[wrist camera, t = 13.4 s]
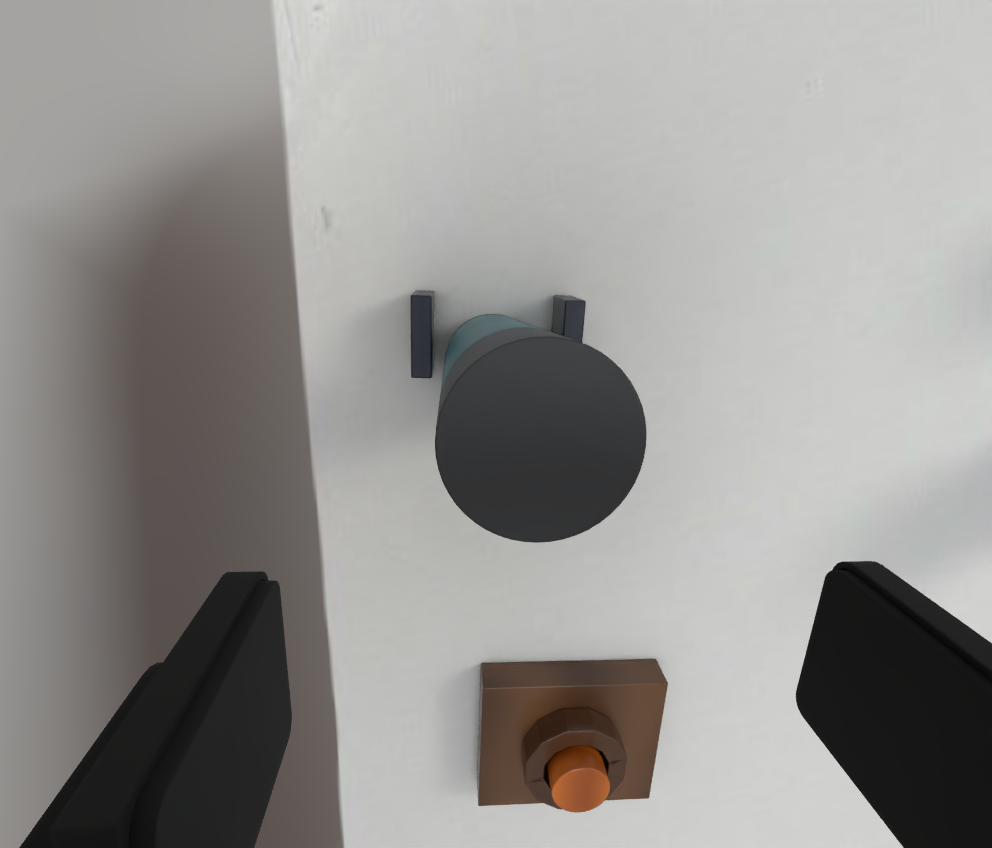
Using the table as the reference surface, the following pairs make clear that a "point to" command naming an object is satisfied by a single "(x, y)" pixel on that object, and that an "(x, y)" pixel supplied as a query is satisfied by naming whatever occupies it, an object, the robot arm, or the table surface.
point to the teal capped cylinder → (535, 430)
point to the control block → (567, 725)
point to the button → (578, 778)
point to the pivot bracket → (422, 327)
